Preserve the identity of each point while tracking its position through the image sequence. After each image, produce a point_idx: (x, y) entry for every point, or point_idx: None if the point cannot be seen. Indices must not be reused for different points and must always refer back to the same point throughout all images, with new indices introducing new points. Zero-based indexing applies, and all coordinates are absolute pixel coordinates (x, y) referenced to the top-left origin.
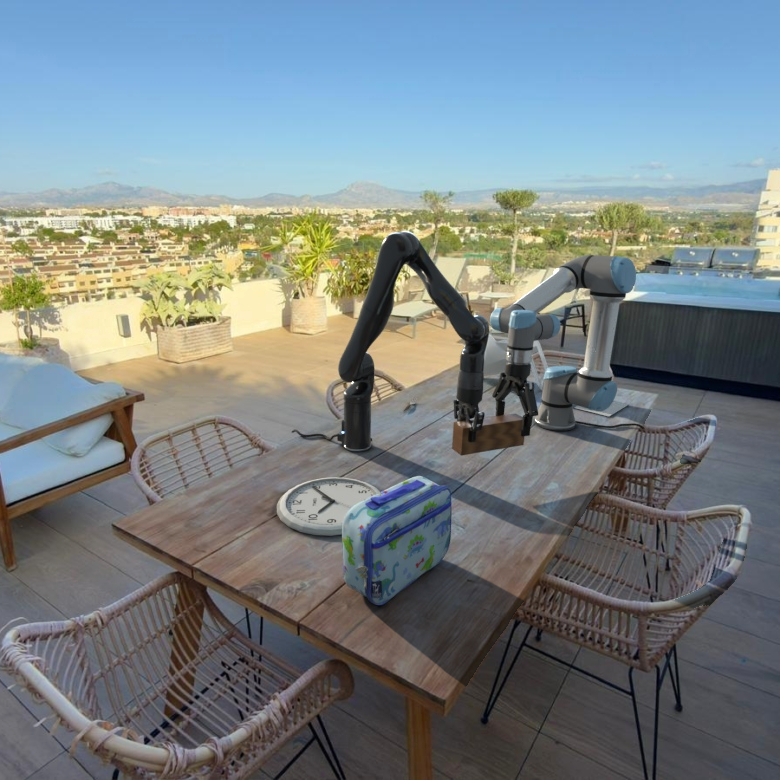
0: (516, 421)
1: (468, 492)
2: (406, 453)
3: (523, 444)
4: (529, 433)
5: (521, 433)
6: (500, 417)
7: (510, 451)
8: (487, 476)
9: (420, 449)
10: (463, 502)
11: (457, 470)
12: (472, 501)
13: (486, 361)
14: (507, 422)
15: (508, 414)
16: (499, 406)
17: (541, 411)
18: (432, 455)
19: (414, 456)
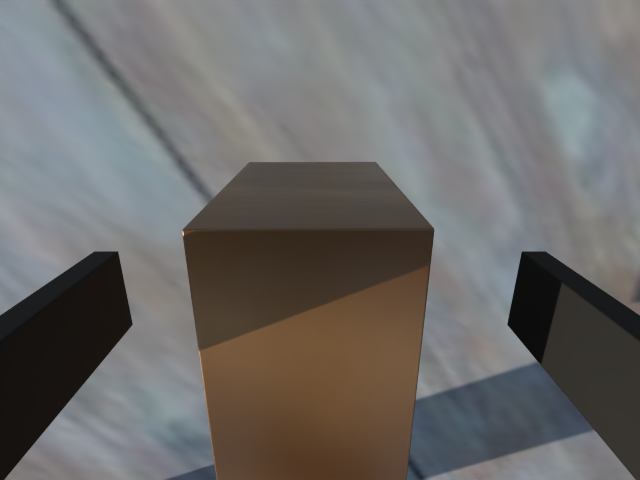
0: (418, 360)
1: (434, 428)
2: (83, 473)
3: (376, 164)
4: (555, 263)
5: (525, 338)
6: (268, 460)
7: (148, 56)
8: None
9: (53, 423)
10: (478, 464)
11: None
12: (488, 442)
13: None
14: (408, 458)
15: (200, 340)
16: (14, 431)
17: None
18: (119, 409)
19: (115, 461)
